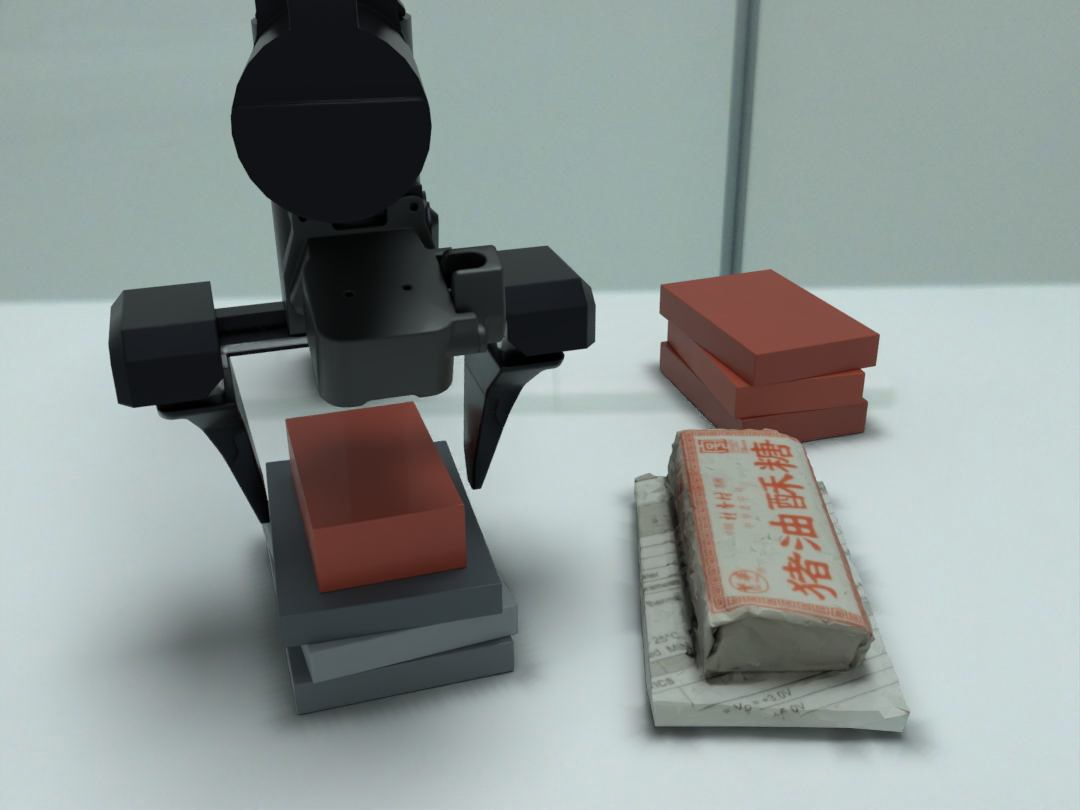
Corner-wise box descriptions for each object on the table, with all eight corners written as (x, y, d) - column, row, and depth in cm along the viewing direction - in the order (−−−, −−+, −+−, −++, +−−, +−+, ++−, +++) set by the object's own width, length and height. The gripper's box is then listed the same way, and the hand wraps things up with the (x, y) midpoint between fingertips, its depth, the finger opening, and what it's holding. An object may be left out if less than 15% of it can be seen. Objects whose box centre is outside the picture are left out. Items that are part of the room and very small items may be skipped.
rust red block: (291, 475, 54) (284, 418, 53) (417, 456, 56) (413, 400, 54) (319, 594, 46) (312, 529, 44) (467, 567, 47) (464, 504, 46)
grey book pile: (261, 543, 57) (251, 464, 55) (449, 512, 60) (445, 435, 58) (291, 719, 46) (280, 626, 44) (523, 671, 48) (521, 582, 46)
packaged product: (634, 416, 59) (831, 418, 58) (631, 498, 61) (821, 500, 60) (653, 633, 42) (926, 637, 42) (648, 735, 45) (908, 740, 44)
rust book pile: (651, 368, 76) (654, 282, 73) (772, 351, 78) (779, 267, 75) (736, 455, 65) (743, 357, 62) (873, 432, 67) (886, 337, 65)
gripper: (67, 230, 34) (149, 654, 41) (653, 177, 39) (639, 563, 46) (83, 146, 44) (148, 501, 51) (553, 111, 49) (554, 439, 55)
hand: (372, 501), depth 50 cm, fingers open, 9 cm apart
